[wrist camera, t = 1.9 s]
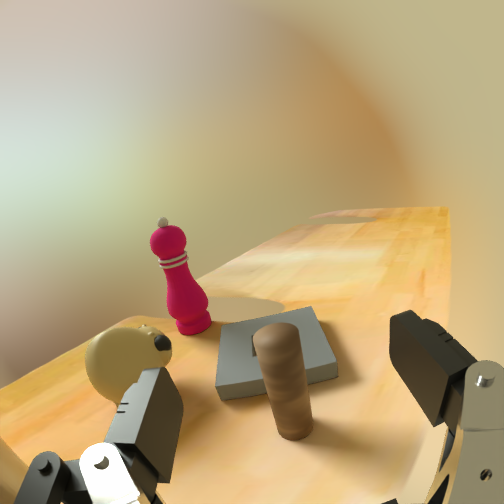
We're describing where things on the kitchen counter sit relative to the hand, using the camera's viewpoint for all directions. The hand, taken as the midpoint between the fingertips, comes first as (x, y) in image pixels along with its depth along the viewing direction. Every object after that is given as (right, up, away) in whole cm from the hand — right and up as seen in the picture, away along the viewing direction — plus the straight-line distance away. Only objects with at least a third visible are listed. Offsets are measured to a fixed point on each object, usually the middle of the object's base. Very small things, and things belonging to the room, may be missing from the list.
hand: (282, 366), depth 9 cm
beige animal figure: (-15, -15, +25) cm, 33 cm away
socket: (+2, -10, +28) cm, 30 cm away
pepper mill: (-11, -10, +41) cm, 44 cm away
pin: (+3, -14, +16) cm, 21 cm away
